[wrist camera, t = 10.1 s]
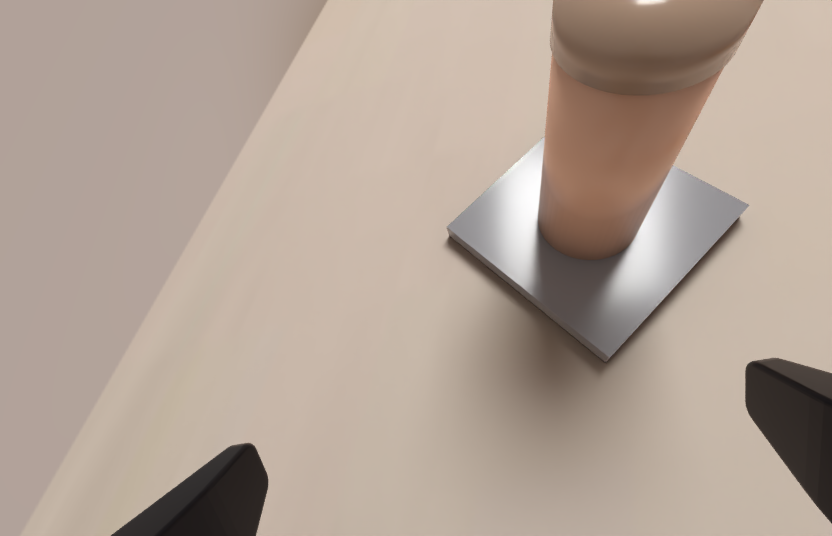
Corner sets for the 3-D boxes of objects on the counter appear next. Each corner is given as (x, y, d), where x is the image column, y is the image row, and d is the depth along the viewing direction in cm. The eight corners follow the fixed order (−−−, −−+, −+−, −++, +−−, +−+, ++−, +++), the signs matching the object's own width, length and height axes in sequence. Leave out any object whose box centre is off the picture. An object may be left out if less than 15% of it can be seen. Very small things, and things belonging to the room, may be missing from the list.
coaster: (740, 215, 22) (749, 205, 21) (605, 362, 20) (609, 357, 19) (568, 123, 27) (570, 112, 26) (449, 235, 25) (446, 226, 24)
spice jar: (664, 234, 21) (820, -10, 10) (569, 278, 21) (624, 83, 10) (603, 162, 24) (677, -94, 13) (518, 202, 24) (520, -18, 13)
